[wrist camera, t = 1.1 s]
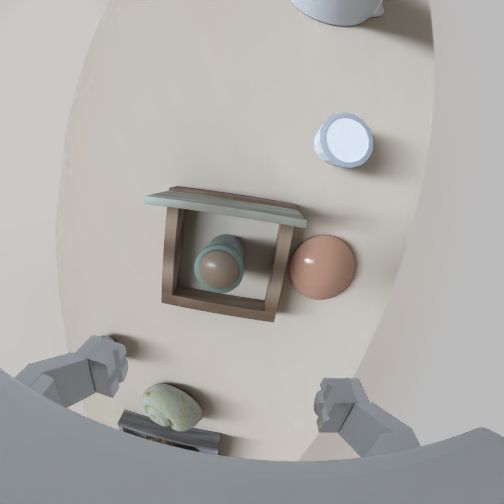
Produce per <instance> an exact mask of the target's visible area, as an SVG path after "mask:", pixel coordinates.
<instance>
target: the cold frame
mask: <svg viewBox="0 0 504 504" xmlns="http://www.w3.org/2000/svg"><path fill="white" fill-rule="evenodd" d="M144 204H151V205H159V206H167V216H166V227H165V240H164V255H163V274H162V303H166V304H171V305H176V306H181V307H186V308H191V309H196V310H201V311H207V312H212V313H218V314H224V315H230V316H236V317H242V318H248V319H255V320H262V321H268V322H274V319H275V315H276V310H277V306H278V301H279V297H280V292H281V288H282V283H283V278H284V274H285V269H286V264H287V260H288V255H289V250H290V245H291V240H292V235H293V230H294V226H295V227H301V228H306V226H307V220H306V219H305V218H304V217H303V215H302V214H301V213H300V212H299V211H298V210H297V209H298V207H297V206H296V205H295V204H291V203H286V202H280V201H275V200H269V199H263V198H257V197H251V196H244V195H238V194H231V193H224V192H217V191H210V190H203V189H195V188H187V187H179V186H176V187H171V188H169V191H165V192H161V193H157V194H152V195H148V196H145V203H144ZM185 209H188V210H196V211H202V212H209V213H216V214H222V215H229V216H235V217H242V218H248V219H254V220H260V221H266V222H272V223H278V224H279V229H278V235H277V240H276V246H275V251H274V256H273V261H272V266H271V272H270V277H269V282H268V287H267V292H266V297H265V301H263V300H257V299H251V298H244V297H238V296H232V295H226V294H220V293H214V292H209V291H203V290H198V289H192V288H187V287H182V286H178V284H179V269H180V255H181V244H182V233H183V223H184V214H185Z"/></svg>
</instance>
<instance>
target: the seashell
mask: <svg viewBox="0 0 504 504" xmlns="http://www.w3.org/2000/svg"><path fill="white" fill-rule="evenodd" d="M142 405H143V408H144V410H145V412H146V413H147V415H148V416H149V417H150V418H151V420H152V421H154V422H155V423H157V424H159V425H161V426H165V427H166V426H170V425H171V427H172V429H174V430H176V431H181V432H182V431H186V430H189V429H192V428H193V427H194V426H195V425H196V424H197V423H198V421H200V420H201V419H202V410H201V408H200V406H199V404H198V403H197V402H196V401H195V400H194V399H193V398H192V397H191V396H189V395H188V394H186V393H185V392H183V391H182V390H180V389H178V388H175V387H173V386H171V385H167V384H156V385H153V386H151V387H149V388H148V389H147V390H146V391H145V392H144V394H143V397H142Z"/></svg>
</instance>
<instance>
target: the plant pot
mask: <svg viewBox="0 0 504 504" xmlns="http://www.w3.org/2000/svg"><path fill="white" fill-rule="evenodd" d="M243 257H244V247H243V245H242V243H241V241H240V240H239V239H238V238H236V237H235V236H233V235H229V234H223V235H219V236H217V237H216V238H215V239H214V240H213V241H212V242H211V244H210V245H209V246H207V247H206V248H204V249H203V250H202V251H201V252H200V254H199V255H198V256H197V258H196V260H195V264H194V272H195V276H196V278H197V280H198V282H199V283H200V284H201V285H202V286H203V287H204V288H205V289H207V290H209V291H211V292H215V293H226V292H229V291H231V290H233V289H235V288H236V287H237V286H238V285H239V284H240V282H241V280H242V278H243V273H244V263H243Z"/></svg>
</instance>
